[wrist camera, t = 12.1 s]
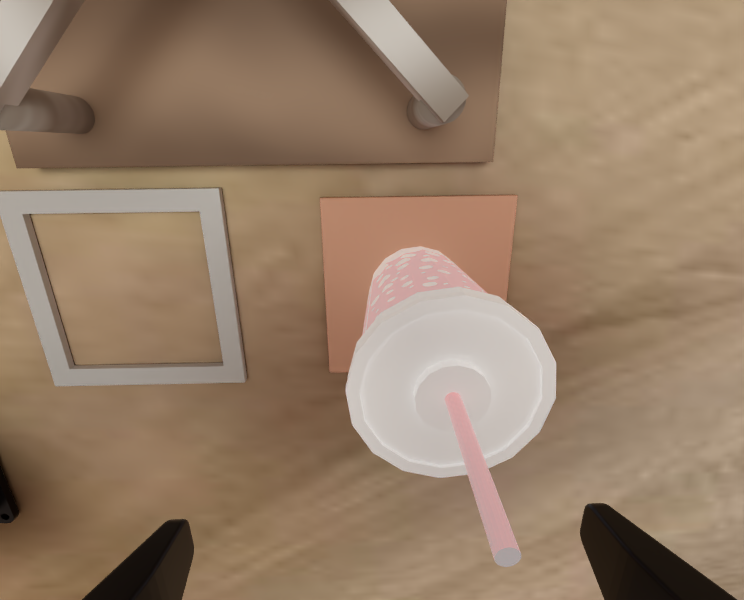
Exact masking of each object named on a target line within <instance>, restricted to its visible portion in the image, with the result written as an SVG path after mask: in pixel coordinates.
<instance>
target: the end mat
mask: <svg viewBox="0 0 744 600" xmlns="http://www.w3.org/2000/svg"><path fill="white" fill-rule="evenodd" d="M517 197H518V195H452V196H383V197H321V198H320V208H321V226H322V245H323V263H324V281H325V300H326V318H327V336H328V354H329V373H330V372H349V369H350V366H351V362H352V358H353V354H354V351H355V347H356V343H357V341H358V340H359V339H360V338H361V336H362V333H363V327H364V320H365V314H366V308H367V302H368V295H369V289H370V286H371V282H372V278H373V274H374V272H375V271H376V270H377V268H378V267H379V266H380V264H381V263H382V262H383V261H384V259H385V258H387V257H389V256H390V255H392V254H394V253H395V252H397V251H399V250H401V249H405V248H412V247H419V246H421V247H425V248H429V249H433V250H437V251H439V252H441V253H442V254H443V255H445V256H446V257H447V258H448V259H450V260H451V261H452V262H454V263H455V264H456V265H457V266H458V267H459V268H460V269H461V270H462V271H463V272H465V273H466V274H467V275H468V276H469V277H470V278H471V279H472V280H473V281H474V282H476V283H477V284H478V285H479V286H480V287H481V288H482V289H483V290H484V291H486V292H487V293H488V294H492V295H496V296H499V297H500V298H502V299H503V300H504V301H505V302H506V299H507V290H508V281H509V271H510V262H511V253H512V244H513V234H514V225H515V216H516V206H517Z"/></svg>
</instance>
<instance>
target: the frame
mask: <svg viewBox="0 0 744 600" xmlns="http://www.w3.org/2000/svg"><path fill="white" fill-rule="evenodd" d="M192 211H200V217H201V223H202V229H203V236H204V242H205V249H206V255H207V262H208V268H209V275H210V281H211V287H212V294H213V300H214V307H215V313H216V320H217V326H218V332H219V339H220V345H221V352H222V358H223V363H174V364H123V365H74V362H73V359H72V356H71V352H70V349H69V345H68V342H67V339H66V335H65V332H64V329H63V325H62V322H61V319H60V315H59V312H58V309H57V305H56V302H55V298H54V295H53V292H52V288H51V285H50V282H49V278H48V275H47V272H46V268H45V265H44V262H43V258H42V255H41V251H40V248H39V245H38V241H37V238H36V235H35V231H34V228H33V225H32V221H31V218H30V215H29V214H57V213H124V212H192ZM0 216H1V219H2V222H3V225H4V229H5V232H6V235H7V238H8V241H9V244H10V247H11V250H12V253H13V256H14V260H15V263H16V266H17V269H18V272H19V275H20V278H21V281H22V284H23V287H24V291H25V294H26V297H27V300H28V303H29V306H30V309H31V312H32V315H33V318H34V322H35V325H36V328H37V331H38V334H39V337H40V340H41V343H42V346H43V349H44V353H45V356H46V359H47V362H48V365H49V368H50V371H51V374H52V377H53V380H54V384H55V386H93V385H143V384H192V383H242V382H246V380H247V373H246V366H245V358H244V351H243V343H242V336H241V329H240V321H239V314H238V306H237V299H236V291H235V284H234V277H233V269H232V262H231V254H230V247H229V239H228V232H227V225H226V217H225V210H224V202H223V195H222V188H158V189H87V190H16V191H0Z"/></svg>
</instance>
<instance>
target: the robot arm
mask: <svg viewBox="0 0 744 600" xmlns="http://www.w3.org/2000/svg"><path fill="white" fill-rule="evenodd" d="M18 515H19V510H18V508H17V505H16V503H15V500H14V498H13V496H12V493H11V491H10V488H9V486H8V483H7V481H6V478H5V476H4V474H3V471H2V469H1V466H0V523H11V522H12V521H13V520H14V519H15V518H16V517H17V516H18ZM580 536H581V541H582V543H583V546H584V549H585V551H586V554H587V556H588V559H589V561H590V564H591V566H592V569H593V572H594V574H595V577H596V579H597V582H598V584H599V587H600V590H601V592H602V595H603V597H604V600H737V599H736V598H734V597H733V596H732V595H730V594H729V593H727V592H726V591H725V590H723V589H722V588H721V587H719V586H718V585H717V584H715V583H714V582H712V581H711V580H710V579H708V578H707V577H706V576H704V575H703V574H702V573H700V572H699V571H697V570H696V569H695V568H693V567H692V566H691V565H689V564H688V563H687V562H685V561H684V560H682V559H681V558H680V557H678V556H677V555H676V554H674V553H673V552H671V551H670V550H669V549H667V548H666V547H665V546H663V545H662V544H661V543H659V542H658V541H656V540H655V539H654V538H652V537H651V536H650V535H648V534H647V533H646V532H644V531H643V530H641V529H640V528H639V527H637V526H636V525H635V524H633V523H632V522H631V521H629V520H628V519H626V518H625V517H624V516H622V515H621V514H620V513H618V512H617V511H615V510H614V509H613V508H611V507H610V506H609V505H607V504H604V503H592V504H587V505H586V506H585V509H584V514H583V519H582V523H581V528H580ZM193 554H194V544H193V539H192V535H191V530H190V526H189V522H188V521H187V520H186V519H173V520H168V521H166V522H165V523H164V524H163V525H162V526H161V527H159V528H158V529H157V530H156V531H155V532H154V533H153V534H152V535H151V536H150V537H149V538H148V539H147V540H146V541H144V542H143V543H142V544H141V545H140V546H139V547H138V548H137V549H136V550H135V551H134V552H133V553H132V554H130V555H129V556H128V557H127V558H126V559H125V560H124V561H123V562H122V563H121V564H120V565H119V566H118V567H117V568H115V569H114V570H113V571H112V572H111V573H110V574H109V575H108V576H107V577H106V578H105V579H104V580H103V581H101V582H100V583H99V584H98V585H97V586H96V587H95V588H94V589H93V590H92V591H91V592H90V593H89V594H87V595H86V596H85V597H84V598H83V599H82V600H182V597H183V593H184V589H185V586H186V582H187V578H188V574H189V570H190V567H191V563H192V559H193Z"/></svg>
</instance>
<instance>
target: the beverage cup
mask: <svg viewBox="0 0 744 600" xmlns="http://www.w3.org/2000/svg"><path fill="white" fill-rule="evenodd" d="M345 391H346V396H347V401H348V406H349V411H350V417H351V422H352V425H353V427H354V428H355V430H356V431H357V432H358V434H359V435H360V436H361V438H362V439H363V440H364V442H365V443H366V444H367V446H368V447H369V448H370V450H371V451H372V453H374V454H376V455H377V456H379V457H381V458H382V459H384V460H386V461H387V462H389V463H391V464H392V465H394V466H396V467H397V468H399V469H401V470H403V471H406V472H411V473H417V474H422V475H427V476H432V477H437V478H444V477H452V476H460V475H468V477H469V480H470V483H471V487H472V490H473V493H474V496H475V499H476V503H477V506H478V509H479V512H480V515H481V519H482V522H483V525H484V528H485V531H486V535H487V538H488V541H489V544H490V547H491V551H492V554H493V557H494V560H495V562H496V563H497V564H498V565H500V566H503V567H509V566H513V565H515V564H517V563H518V562H519V561H520V559H521V552H520V550H519V547H518V545H517V542H516V539H515V537H514V534H513V531H512V529H511V526H510V524H509V521H508V518H507V516H506V513H505V511H504V508H503V505H502V503H501V500H500V497H499V495H498V492H497V490H496V487H495V484H494V482H493V479H492V476H491V474H490V471H489V469H488V468H490V467H493V466H495V465H497V464H499V463H501V462H504V461H506V460H508V459H510V458H512V457H513V456H515V455H516V454H517V453H518V452H519V451H520V450H521V449H522V448H523V447H524V446H525V445H526V444H527V443H528V442H529V441H531V440H532V439H533V438H534V437H535V436H536V435H537V434H538V433H539V432H540V431H541V428H542V426H543V424H544V422H545V420H546V418H547V416H548V414H549V412H550V410H551V408H552V405H553V403H554V401H555V399H556V361H555V359H554V357H553V355H552V353H551V351H550V349H549V347H548V345H547V343H546V341H545V339H544V337H543V335H542V333H541V331H540V329H539V328H538V327H537V326H536V325H535V324H533V323H532V322H531V321H529V319H528V318H526V317H525V316H524V315H522V314H521V313H520V312H519V311H517V310H516V309H515V308H513V307H512V306H511V305H509V304H508V303H507V302H505V301H504V300H503V299H502V298H500V297H499V296H496V295H492V294H488V293H487V292H486V291H484V290H483V289H482V288H481V287H480V286H479V285H478V284H477V283H476V282H474V281H473V280H472V279H471V278H470V277H469V276H468V275H467V274H466V273H465V272H463V271H462V270H461V269H460V268H459V267H458V266H457V265H456V264H455V263H454V262H452V261H451V260H450V259H448V258H447V257H446V256H445V255H443V254H442V253H441V252H439V251H437V250H433V249H429V248H425V247H421V246H419V247H412V248H405V249H401V250H399V251H397V252H395V253H394V254H392V255H390V256H389V257H387V258H385V259H384V261H383V262H382V263H381V264H380V266H379V267H378V268H377V270H376V271H375V272H374V274H373V278H372V282H371V286H370V289H369V295H368V302H367V308H366V314H365V320H364V327H363V333H362V336H361V338H360V339H359V340H358V341H357V343H356V347H355V351H354V354H353V358H352V362H351V366H350V369H349V373H348V380H347V383H346V390H345Z"/></svg>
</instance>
